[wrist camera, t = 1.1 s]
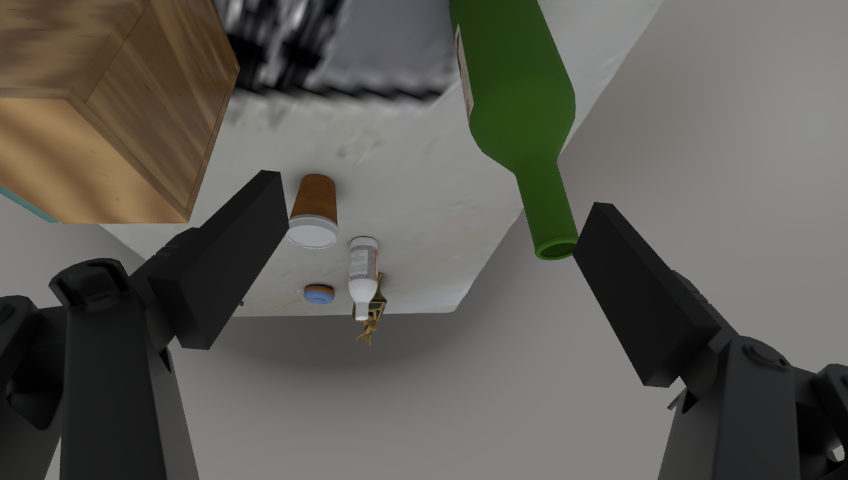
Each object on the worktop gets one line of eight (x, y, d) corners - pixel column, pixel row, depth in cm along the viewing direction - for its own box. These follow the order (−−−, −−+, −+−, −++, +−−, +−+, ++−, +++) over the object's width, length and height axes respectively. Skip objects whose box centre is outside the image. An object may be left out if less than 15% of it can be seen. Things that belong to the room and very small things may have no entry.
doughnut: (304, 292, 115) (302, 305, 113) (304, 281, 107) (302, 295, 105) (333, 294, 118) (333, 306, 116) (336, 283, 110) (335, 297, 108)
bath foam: (375, 249, 91) (374, 323, 81) (349, 247, 89) (345, 322, 79) (379, 237, 85) (379, 314, 75) (351, 234, 83) (347, 313, 73)
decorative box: (355, 269, 101) (351, 335, 91) (387, 270, 103) (387, 335, 93) (352, 292, 118) (349, 350, 108) (379, 293, 120) (379, 350, 110)
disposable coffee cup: (353, 190, 68) (350, 242, 62) (315, 203, 71) (308, 254, 65) (322, 161, 60) (315, 218, 54) (281, 177, 63) (270, 232, 57)
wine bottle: (436, -20, 37) (474, 242, 21) (517, -69, 33) (637, 198, 18) (464, 50, 44) (509, 285, 28) (534, 15, 40) (630, 260, 25)
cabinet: (150, 64, 43) (63, 224, 31) (54, -80, 31) (-148, 94, 19) (240, 68, 44) (188, 223, 32) (181, -70, 32) (64, 99, 20)
